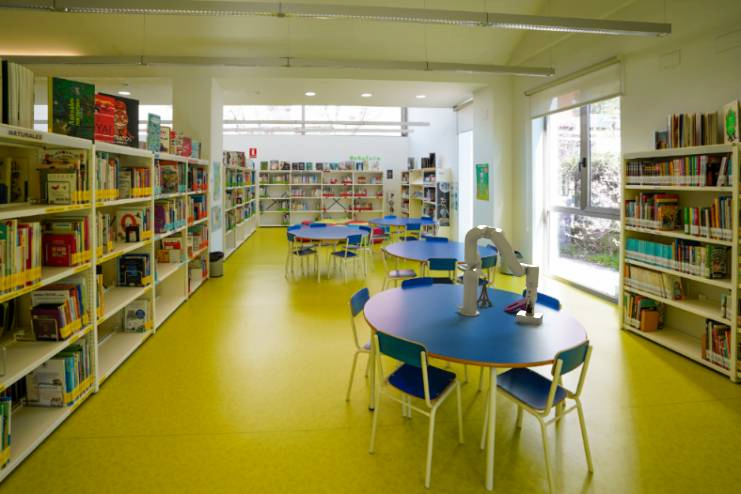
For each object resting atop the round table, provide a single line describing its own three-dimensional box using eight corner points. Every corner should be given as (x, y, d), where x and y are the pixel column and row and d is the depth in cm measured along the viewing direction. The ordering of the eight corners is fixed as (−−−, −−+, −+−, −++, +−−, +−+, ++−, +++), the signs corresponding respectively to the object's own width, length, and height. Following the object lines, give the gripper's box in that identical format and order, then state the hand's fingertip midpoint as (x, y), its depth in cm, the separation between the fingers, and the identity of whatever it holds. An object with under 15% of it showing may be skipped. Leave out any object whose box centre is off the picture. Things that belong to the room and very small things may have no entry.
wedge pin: (525, 317, 286) (526, 302, 284) (527, 315, 289) (528, 300, 288) (532, 318, 284) (533, 303, 282) (533, 316, 287) (534, 301, 285)
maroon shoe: (511, 321, 305) (536, 311, 304) (506, 311, 304) (531, 300, 303) (507, 317, 314) (531, 307, 313) (502, 307, 313) (526, 296, 312)
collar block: (516, 321, 286) (516, 314, 286) (520, 317, 295) (520, 310, 294) (538, 325, 279) (539, 318, 278) (542, 321, 287) (543, 314, 286)
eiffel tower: (473, 304, 325) (474, 270, 321) (484, 302, 330) (486, 269, 326) (482, 308, 316) (484, 273, 312) (494, 306, 320) (496, 272, 316)
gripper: (534, 287, 274) (532, 316, 277) (541, 282, 288) (539, 310, 291) (522, 286, 278) (520, 314, 281) (529, 281, 292) (527, 308, 295)
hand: (529, 311), depth 286 cm, fingers closed on wedge pin, 4 cm apart
